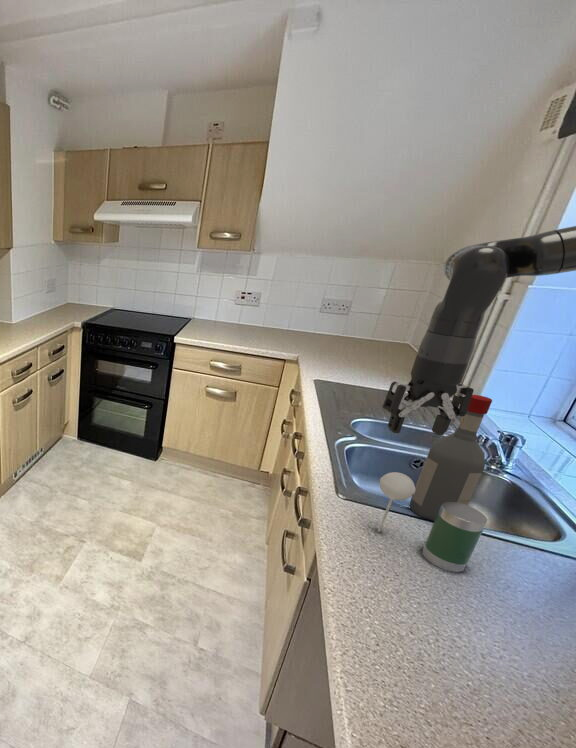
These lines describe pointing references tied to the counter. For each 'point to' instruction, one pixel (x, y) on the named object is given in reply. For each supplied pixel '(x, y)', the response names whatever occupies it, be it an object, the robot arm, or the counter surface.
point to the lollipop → (396, 489)
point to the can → (454, 536)
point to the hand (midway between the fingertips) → (415, 432)
